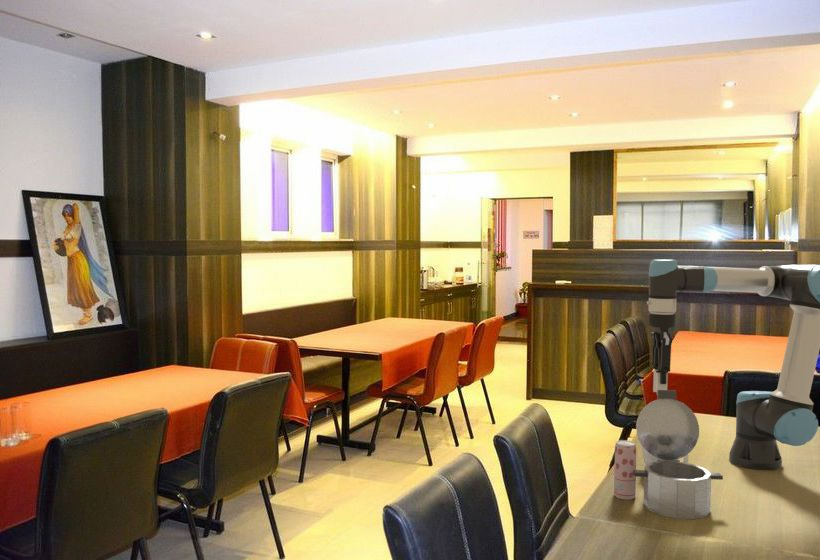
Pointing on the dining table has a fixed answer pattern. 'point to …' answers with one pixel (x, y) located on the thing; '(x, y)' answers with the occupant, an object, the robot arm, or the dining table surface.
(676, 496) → the pot
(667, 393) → the lid
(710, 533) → the dining table surface
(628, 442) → the beverage can
